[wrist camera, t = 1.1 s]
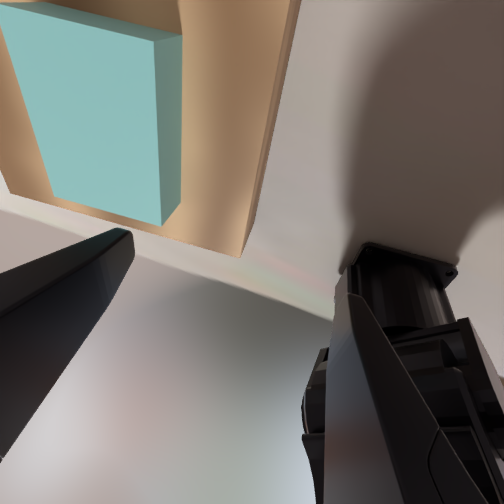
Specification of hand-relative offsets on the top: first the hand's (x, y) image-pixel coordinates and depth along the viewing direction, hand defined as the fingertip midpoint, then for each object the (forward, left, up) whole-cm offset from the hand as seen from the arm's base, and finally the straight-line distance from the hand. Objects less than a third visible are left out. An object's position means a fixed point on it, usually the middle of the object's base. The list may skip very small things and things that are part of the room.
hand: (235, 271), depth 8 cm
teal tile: (+8, 0, -7) cm, 10 cm away
